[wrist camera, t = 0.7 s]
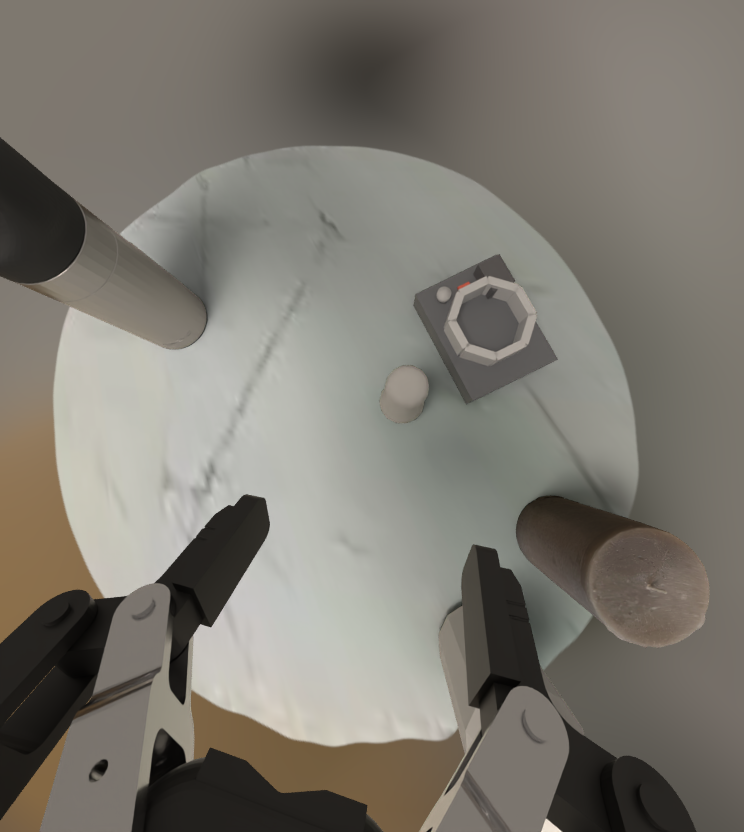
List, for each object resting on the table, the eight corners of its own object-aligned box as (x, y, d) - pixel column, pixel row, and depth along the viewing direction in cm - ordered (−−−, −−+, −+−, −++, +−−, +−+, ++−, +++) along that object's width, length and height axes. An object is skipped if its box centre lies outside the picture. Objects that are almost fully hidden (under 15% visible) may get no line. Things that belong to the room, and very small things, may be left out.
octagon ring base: (413, 305, 41) (417, 283, 36) (488, 268, 41) (504, 241, 36) (466, 404, 39) (479, 397, 34) (544, 365, 39) (570, 353, 34)
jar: (480, 698, 36) (575, 953, 18) (420, 639, 37) (453, 825, 19) (530, 637, 36) (673, 826, 18) (470, 581, 37) (549, 708, 19)
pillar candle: (535, 482, 38) (630, 508, 23) (605, 519, 37) (752, 571, 22) (502, 548, 37) (577, 619, 22) (573, 587, 36) (700, 688, 22)
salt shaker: (398, 375, 40) (404, 342, 27) (430, 400, 40) (451, 379, 27) (371, 407, 40) (364, 389, 27) (403, 433, 39) (412, 427, 26)
